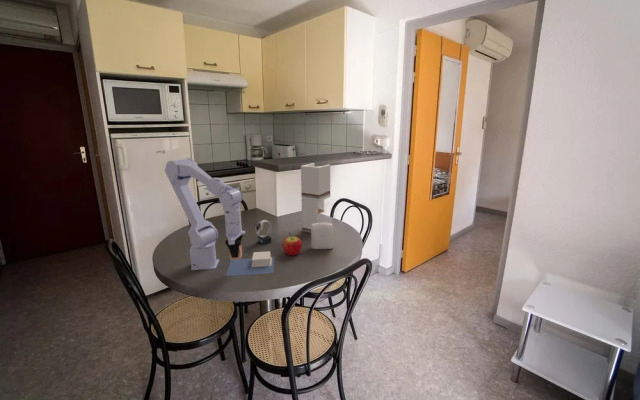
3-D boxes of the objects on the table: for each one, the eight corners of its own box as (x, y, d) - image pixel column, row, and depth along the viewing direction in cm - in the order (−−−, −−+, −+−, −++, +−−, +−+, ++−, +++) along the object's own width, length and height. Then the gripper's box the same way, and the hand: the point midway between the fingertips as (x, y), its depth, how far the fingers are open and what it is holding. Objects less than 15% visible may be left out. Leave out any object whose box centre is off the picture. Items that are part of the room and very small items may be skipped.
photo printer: (311, 249, 138) (310, 224, 135) (311, 245, 142) (311, 221, 139) (333, 249, 138) (333, 224, 135) (333, 245, 142) (333, 221, 139)
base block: (252, 266, 121) (252, 259, 121) (254, 258, 128) (253, 252, 127) (270, 265, 122) (269, 258, 121) (270, 257, 129) (270, 251, 128)
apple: (292, 248, 139) (291, 228, 137) (306, 253, 134) (305, 232, 131) (279, 254, 133) (278, 233, 130) (293, 260, 128) (292, 238, 125)
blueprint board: (225, 277, 114) (225, 276, 114) (231, 260, 127) (231, 259, 127) (273, 274, 116) (273, 272, 116) (274, 258, 130) (274, 256, 130)
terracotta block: (230, 259, 114) (229, 249, 113) (231, 255, 117) (230, 245, 116) (241, 259, 114) (240, 249, 113) (242, 254, 118) (241, 245, 117)
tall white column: (319, 234, 156) (318, 167, 147) (302, 231, 161) (300, 165, 152) (330, 228, 165) (330, 164, 156) (313, 224, 170) (313, 163, 161)
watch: (254, 242, 146) (252, 221, 143) (269, 238, 151) (268, 217, 148) (259, 246, 142) (258, 224, 139) (274, 242, 147) (273, 220, 144)
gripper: (241, 227, 105) (244, 262, 109) (246, 214, 119) (248, 246, 123) (221, 228, 105) (224, 263, 108) (227, 215, 118) (230, 247, 122)
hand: (235, 254), depth 115 cm, fingers closed on terracotta block, 4 cm apart
